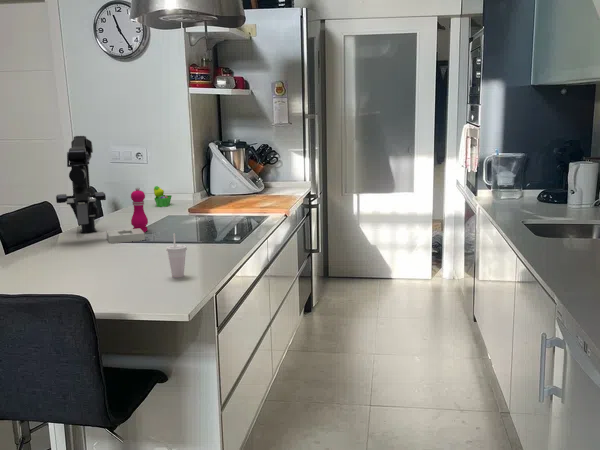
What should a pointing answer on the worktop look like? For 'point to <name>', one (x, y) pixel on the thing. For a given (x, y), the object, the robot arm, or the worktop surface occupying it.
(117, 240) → the socket plate
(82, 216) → the plug
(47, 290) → the worktop surface
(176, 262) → the smoothie
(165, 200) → the fruit basket
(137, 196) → the pepper mill
